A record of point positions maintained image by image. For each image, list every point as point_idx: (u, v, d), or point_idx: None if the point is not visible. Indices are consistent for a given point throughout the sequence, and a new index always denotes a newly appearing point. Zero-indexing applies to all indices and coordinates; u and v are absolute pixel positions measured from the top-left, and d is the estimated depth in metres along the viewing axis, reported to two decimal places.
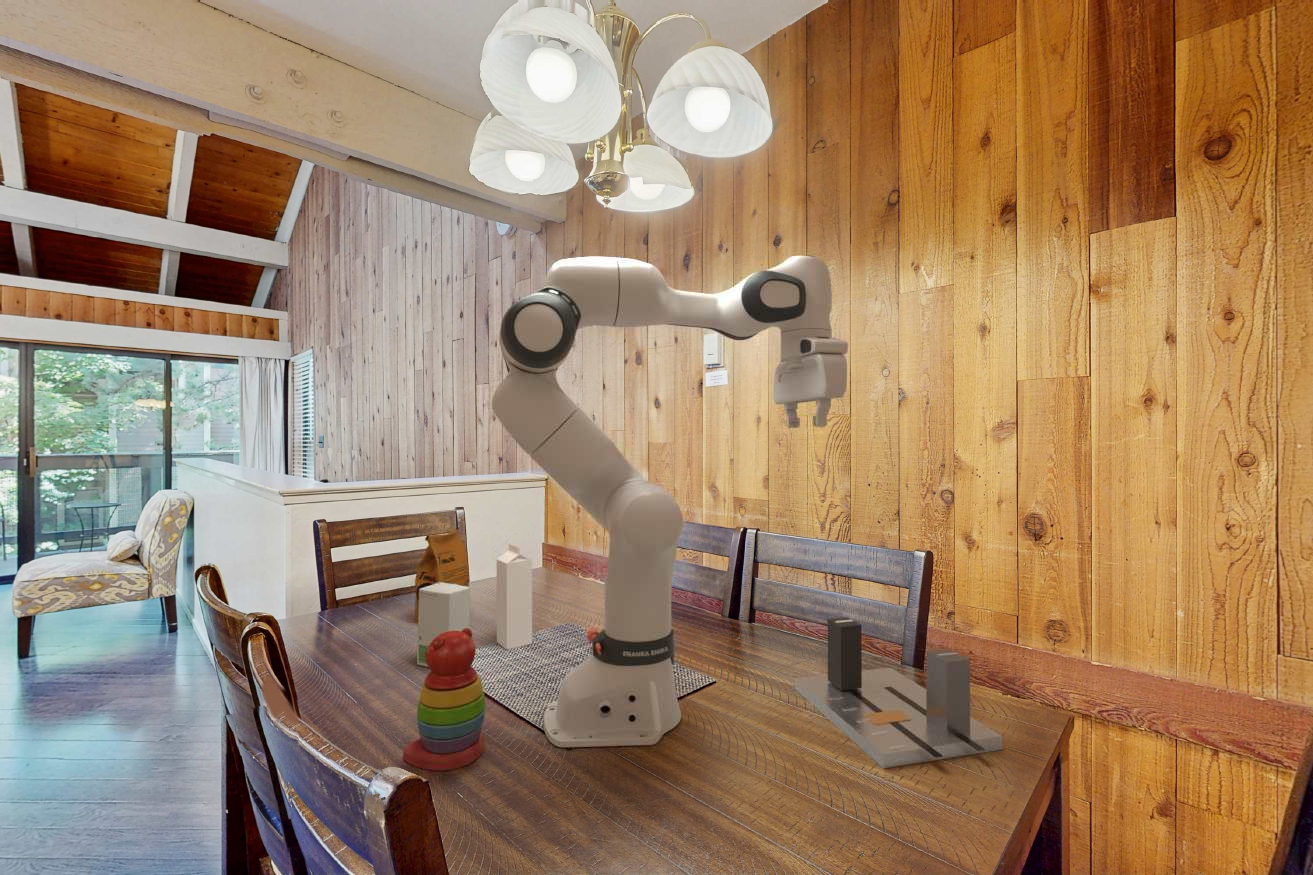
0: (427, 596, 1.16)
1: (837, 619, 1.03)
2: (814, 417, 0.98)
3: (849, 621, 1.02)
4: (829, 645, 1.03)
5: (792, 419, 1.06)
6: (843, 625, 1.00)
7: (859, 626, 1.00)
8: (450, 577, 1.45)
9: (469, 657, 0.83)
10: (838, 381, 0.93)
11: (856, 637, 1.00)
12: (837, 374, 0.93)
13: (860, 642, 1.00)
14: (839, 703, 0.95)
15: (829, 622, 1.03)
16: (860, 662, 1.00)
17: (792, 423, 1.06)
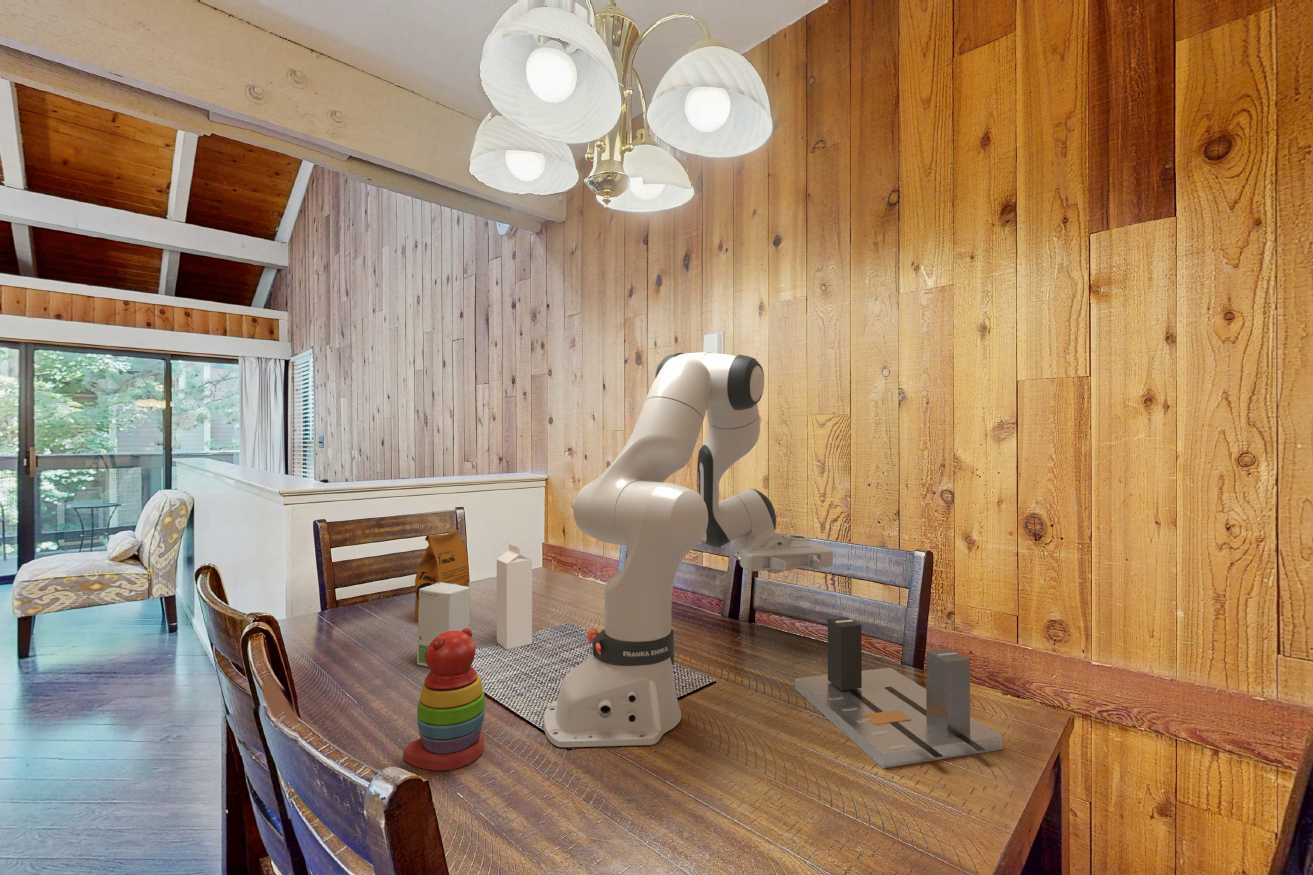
0: (427, 596, 1.16)
1: (837, 619, 1.03)
2: (813, 558, 1.19)
3: (849, 621, 1.02)
4: (829, 645, 1.03)
5: None
6: (843, 625, 1.00)
7: (859, 626, 1.00)
8: (450, 577, 1.45)
9: (468, 657, 0.83)
10: None
11: (856, 637, 1.00)
12: None
13: (860, 642, 1.00)
14: (839, 703, 0.95)
15: (829, 622, 1.03)
16: (860, 662, 1.00)
17: None
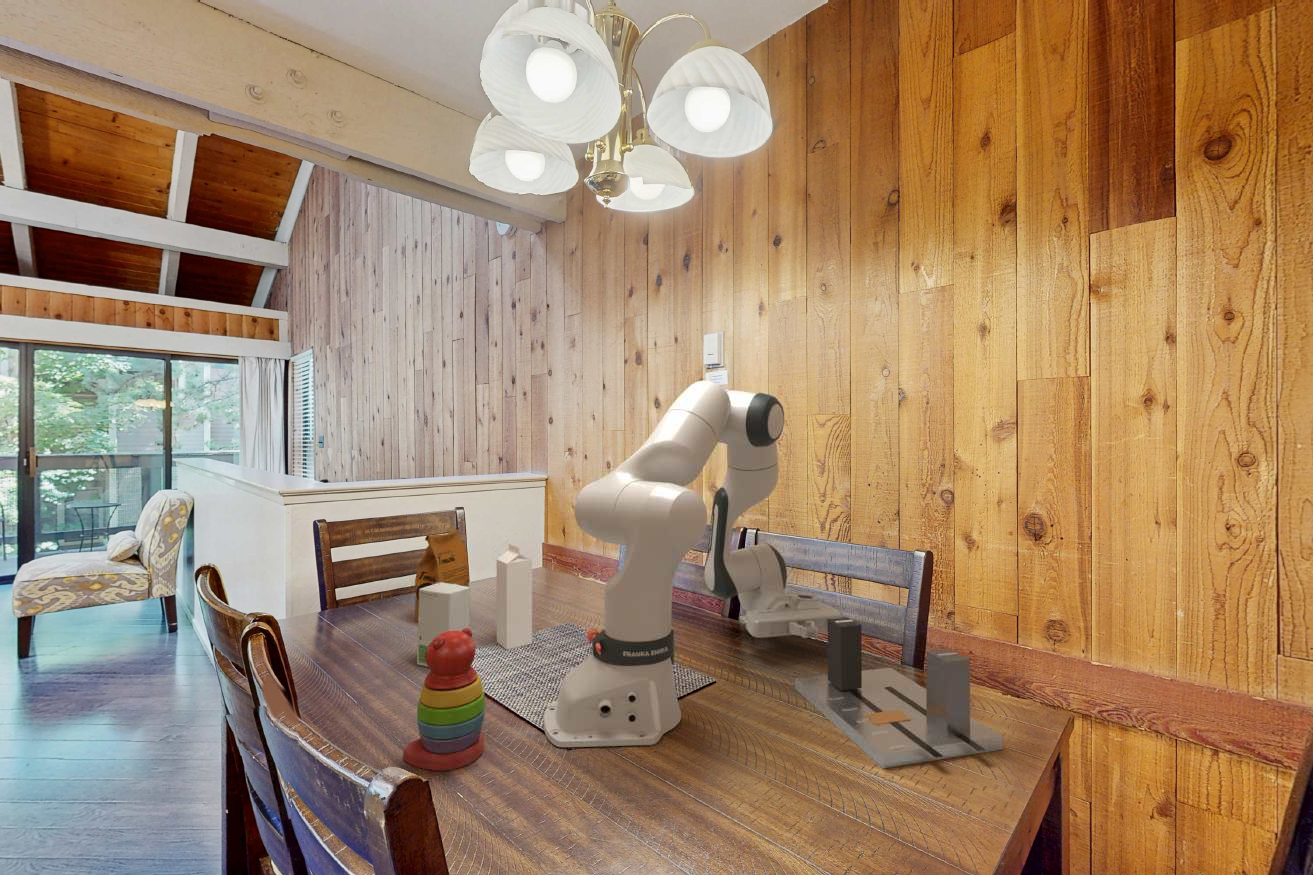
0: (427, 596, 1.16)
1: (837, 619, 1.03)
2: (810, 626, 1.15)
3: (849, 621, 1.02)
4: (829, 645, 1.03)
5: None
6: (843, 625, 1.00)
7: (859, 626, 1.00)
8: (450, 577, 1.45)
9: (468, 657, 0.83)
10: None
11: (856, 637, 1.00)
12: None
13: (860, 642, 1.00)
14: (839, 703, 0.95)
15: (829, 622, 1.03)
16: (860, 662, 1.00)
17: None
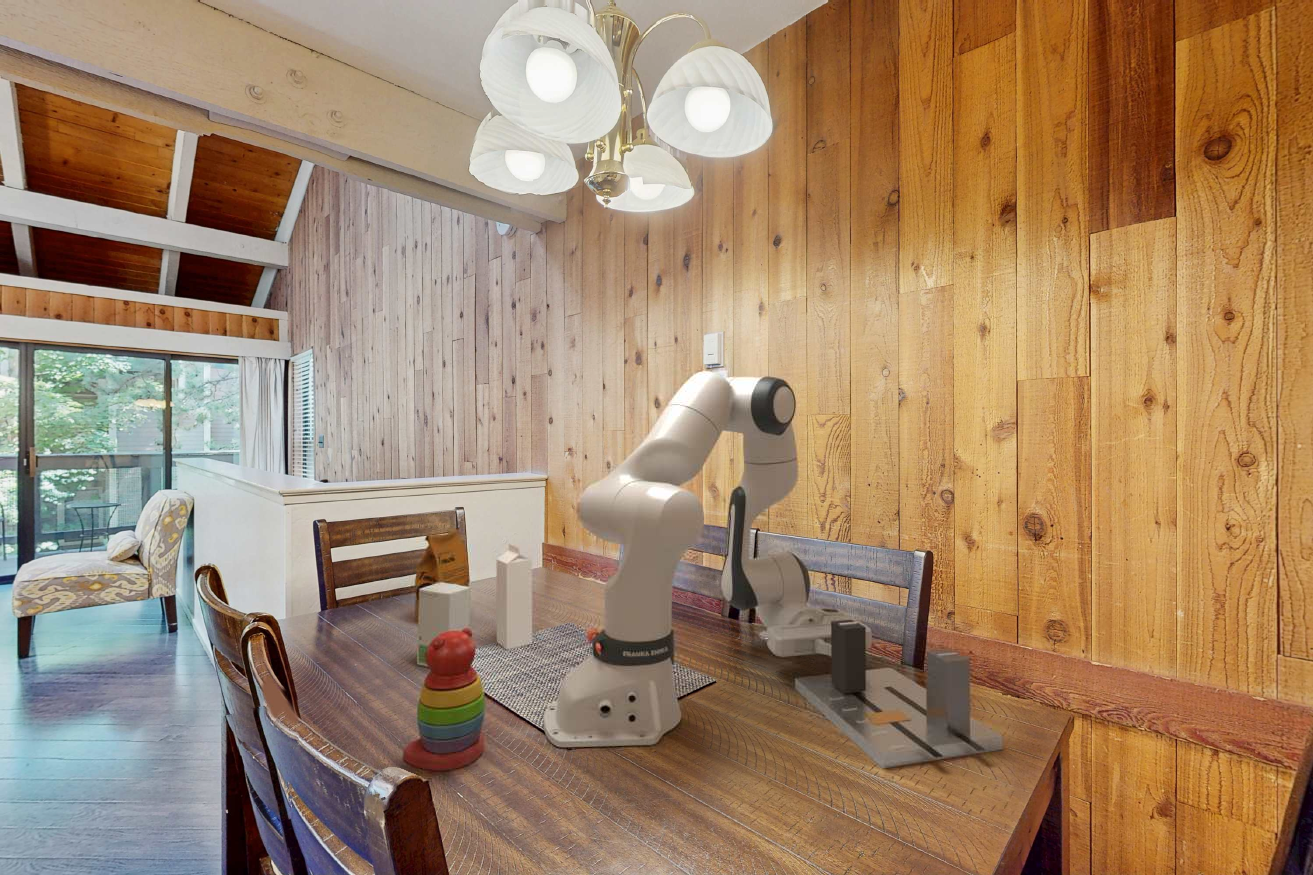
0: (427, 596, 1.16)
1: (841, 621, 1.02)
2: None
3: (853, 623, 1.01)
4: (833, 647, 1.02)
5: None
6: (847, 628, 0.99)
7: (863, 628, 0.99)
8: (450, 577, 1.45)
9: (468, 657, 0.83)
10: None
11: (860, 639, 0.99)
12: None
13: (864, 644, 0.99)
14: (839, 703, 0.95)
15: (833, 624, 1.02)
16: (864, 665, 0.99)
17: None
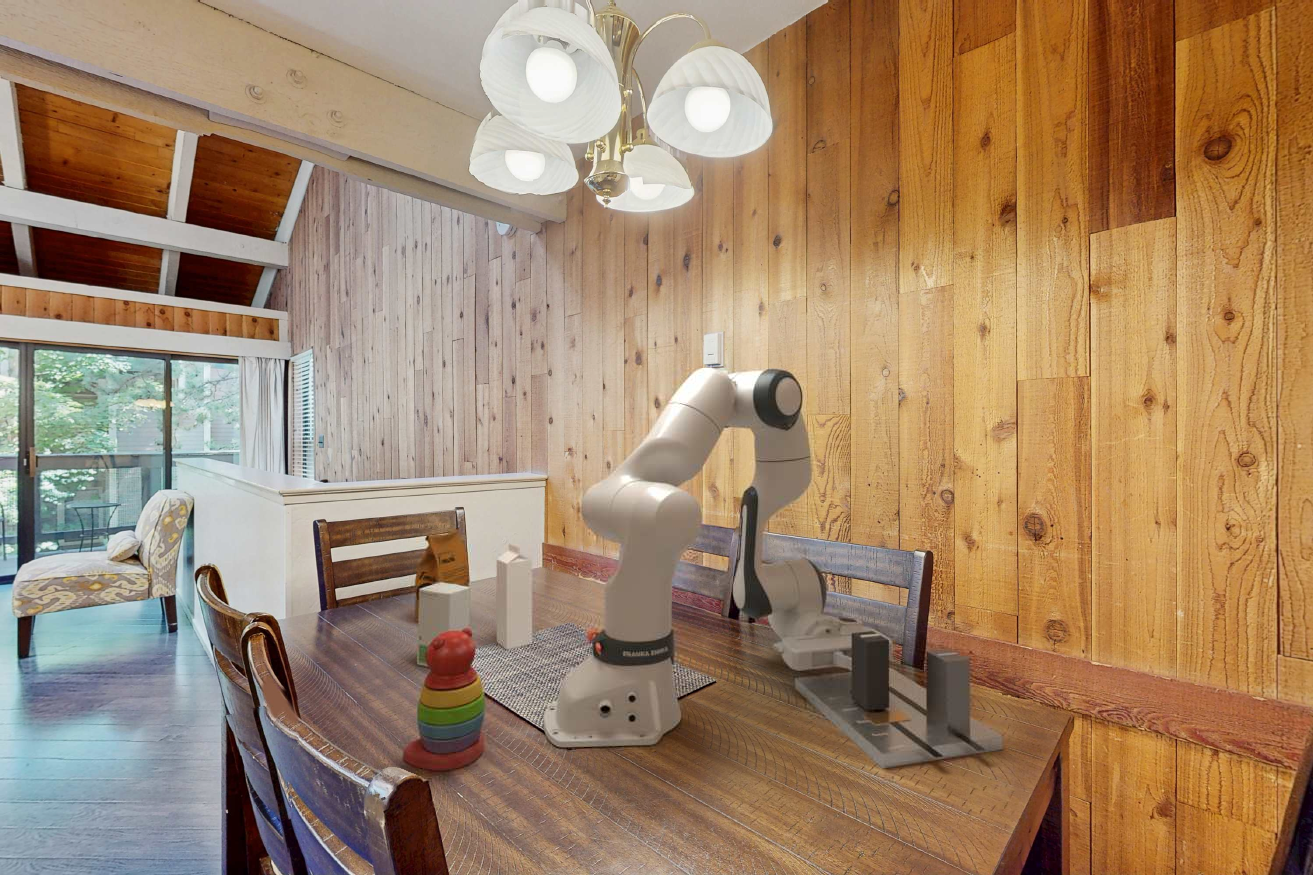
0: (427, 596, 1.16)
1: (862, 633, 0.96)
2: None
3: (875, 635, 0.95)
4: (853, 661, 0.96)
5: None
6: (869, 641, 0.92)
7: (886, 641, 0.93)
8: (450, 577, 1.45)
9: (468, 657, 0.83)
10: None
11: (883, 653, 0.93)
12: None
13: (887, 658, 0.93)
14: (839, 703, 0.95)
15: (853, 636, 0.96)
16: (887, 680, 0.93)
17: None
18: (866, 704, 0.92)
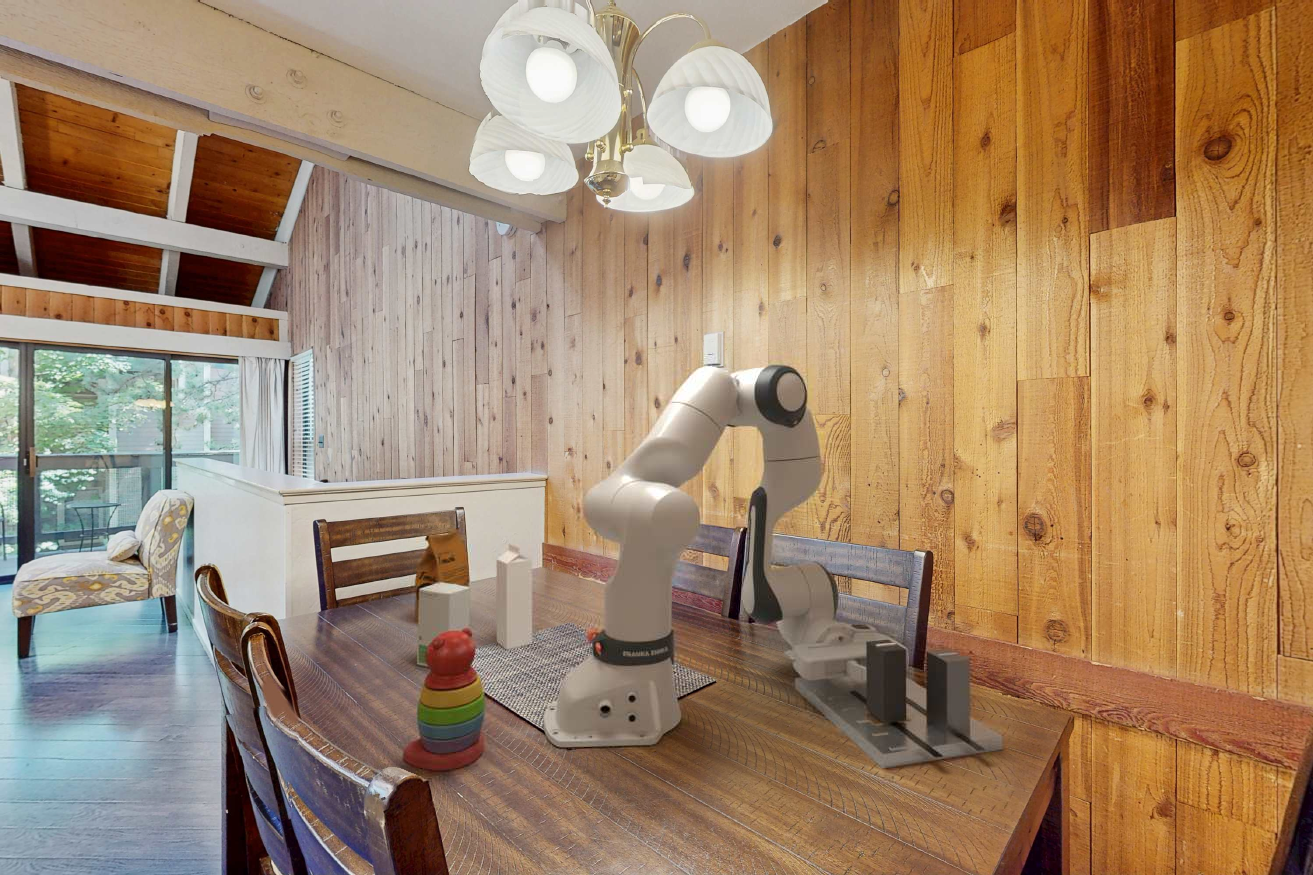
0: (427, 596, 1.16)
1: (877, 642, 0.92)
2: None
3: (891, 644, 0.91)
4: (868, 671, 0.92)
5: None
6: (886, 650, 0.88)
7: (903, 650, 0.89)
8: (450, 577, 1.45)
9: (468, 657, 0.83)
10: None
11: (900, 663, 0.89)
12: None
13: (905, 668, 0.89)
14: (839, 703, 0.95)
15: (868, 645, 0.92)
16: (905, 692, 0.89)
17: None
18: (882, 716, 0.88)
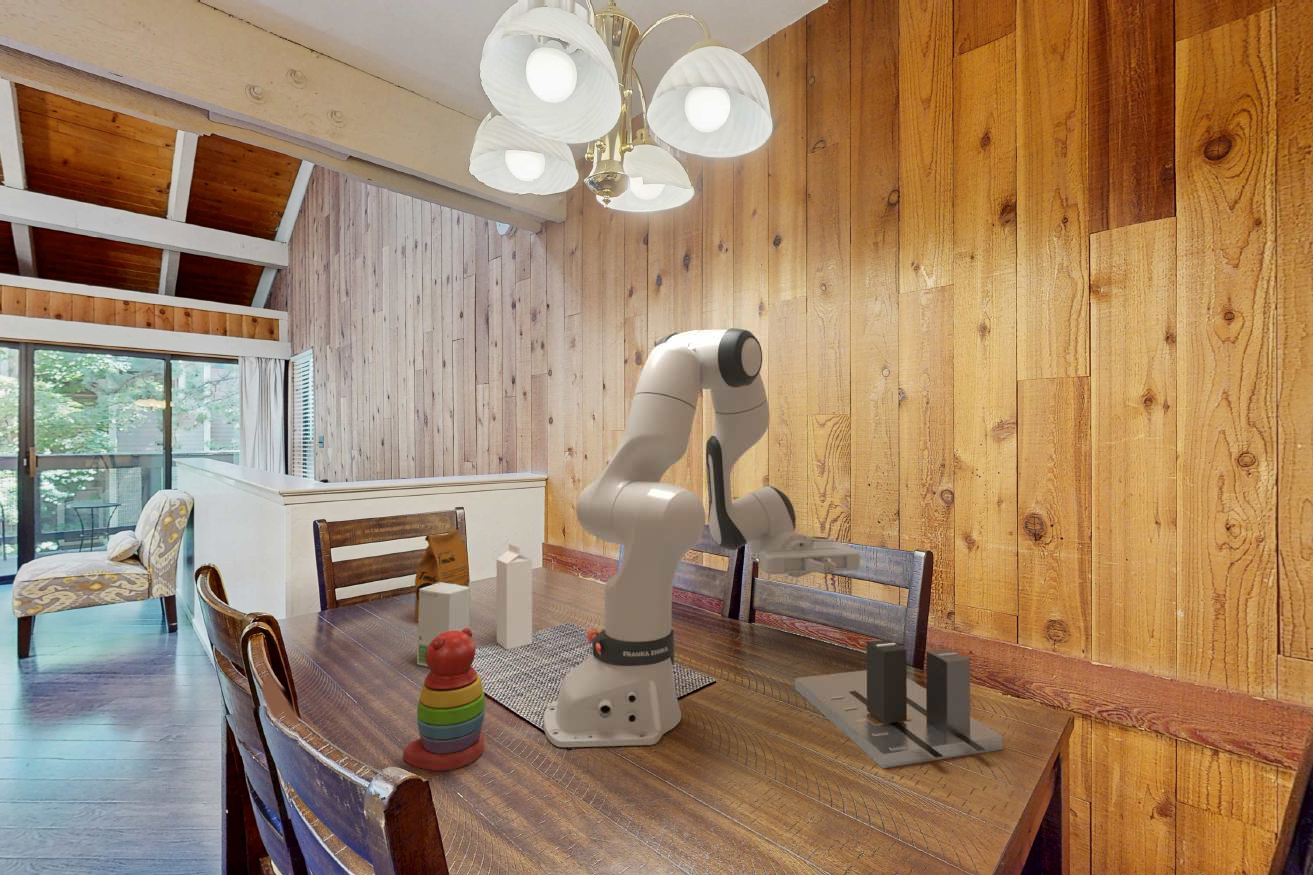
0: (427, 596, 1.16)
1: (877, 642, 0.92)
2: (827, 562, 1.09)
3: (892, 644, 0.90)
4: (869, 671, 0.92)
5: None
6: (886, 650, 0.88)
7: (904, 651, 0.89)
8: (450, 577, 1.45)
9: (468, 657, 0.83)
10: None
11: (900, 663, 0.89)
12: None
13: (905, 669, 0.89)
14: (839, 703, 0.95)
15: (869, 645, 0.91)
16: (905, 692, 0.89)
17: None
18: (883, 717, 0.88)
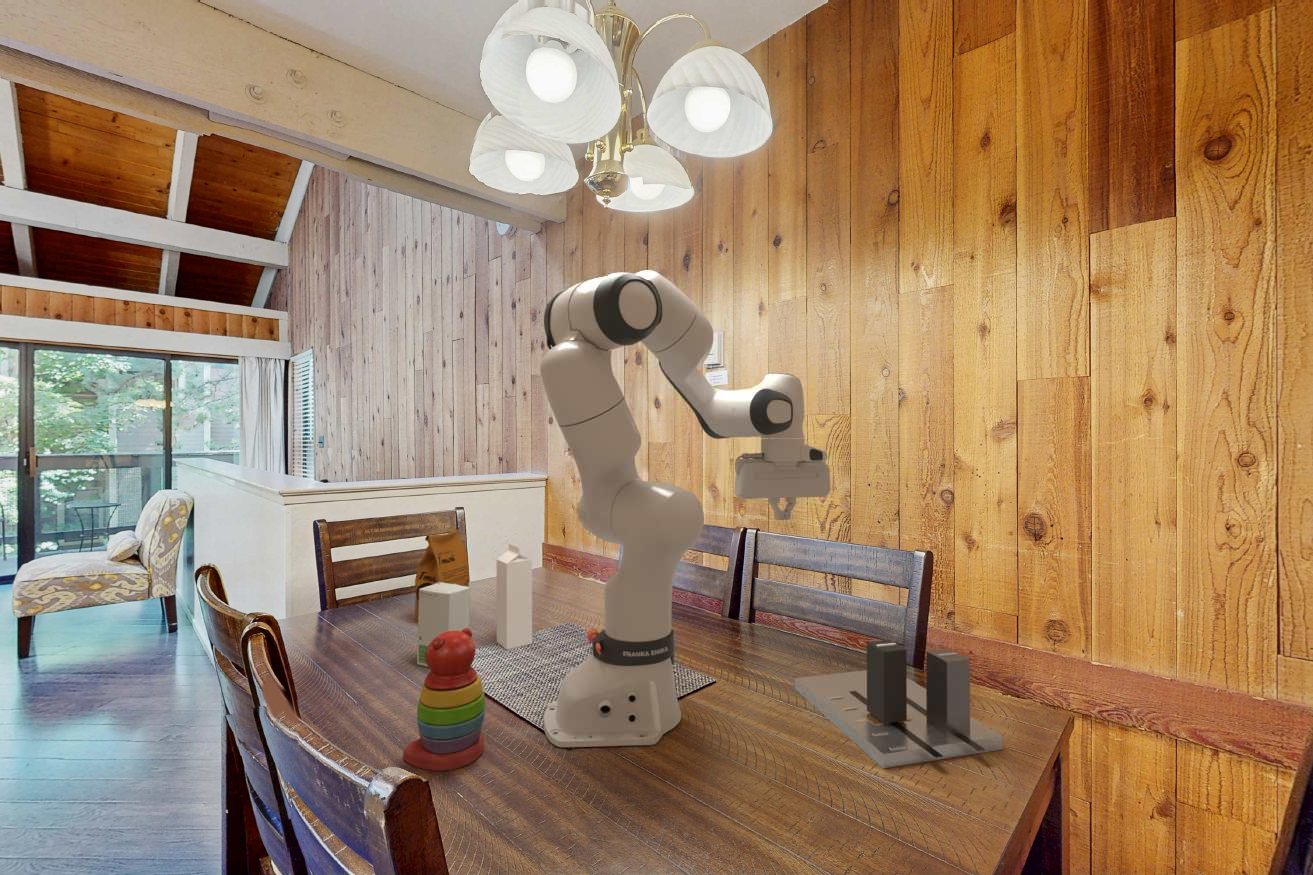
0: (427, 596, 1.16)
1: (877, 642, 0.92)
2: (787, 512, 1.18)
3: (892, 644, 0.90)
4: (869, 671, 0.92)
5: None
6: (886, 650, 0.88)
7: (904, 651, 0.89)
8: (450, 577, 1.45)
9: (468, 657, 0.83)
10: None
11: (900, 663, 0.89)
12: None
13: (905, 669, 0.89)
14: (839, 703, 0.95)
15: (869, 645, 0.91)
16: (905, 692, 0.89)
17: None
18: (883, 717, 0.88)
